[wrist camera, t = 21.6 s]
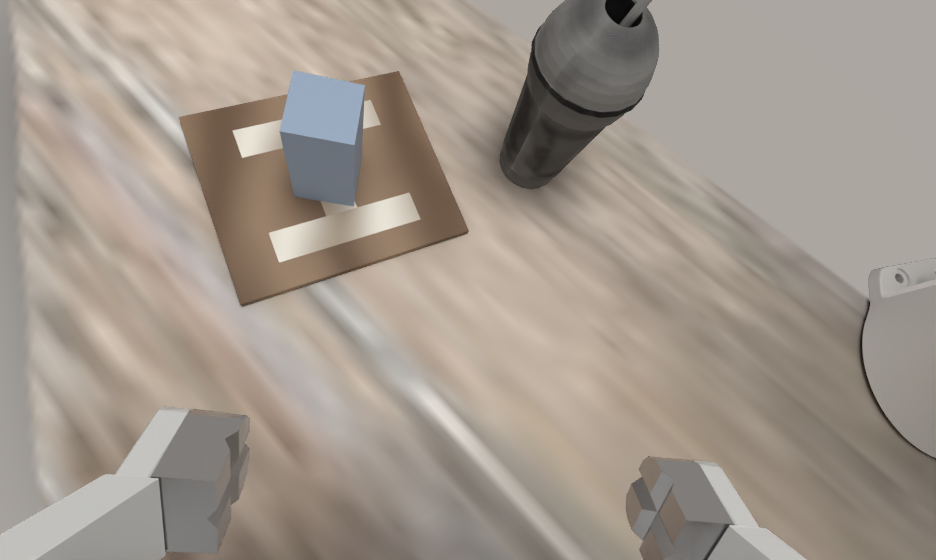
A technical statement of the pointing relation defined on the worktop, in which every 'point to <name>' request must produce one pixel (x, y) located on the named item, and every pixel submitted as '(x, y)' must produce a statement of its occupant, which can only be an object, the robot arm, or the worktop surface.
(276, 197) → the board
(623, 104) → the beverage cup
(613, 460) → the worktop surface
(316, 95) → the slate block
